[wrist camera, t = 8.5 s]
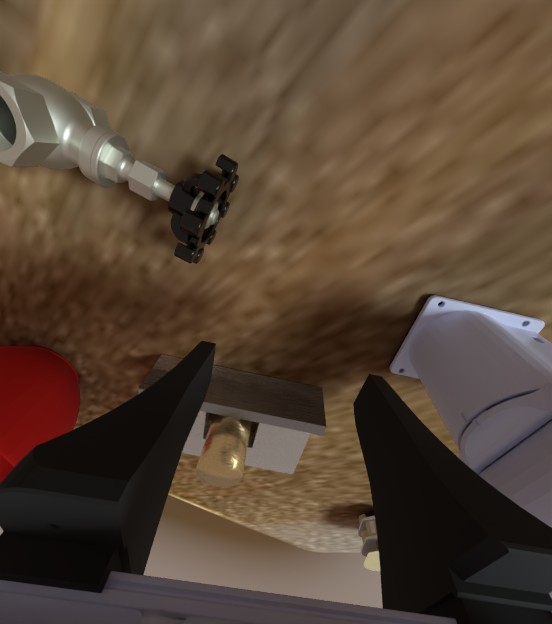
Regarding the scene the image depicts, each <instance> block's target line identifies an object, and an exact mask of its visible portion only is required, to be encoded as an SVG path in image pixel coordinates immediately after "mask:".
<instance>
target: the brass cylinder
mask: <svg viewBox="0 0 552 624" xmlns="http://www.w3.org/2000/svg"><path fill="white" fill-rule="evenodd" d="M251 423H252V421H248V420H243V419H238V418H233V417H228V416H223V415H218V414H214V415H213V418H212V421H211V425H210V428H209V431H208V434H207V437H206V440H205V443H204V446H203V449H202V453H201V456H200V459H199V462H198V465H197V468H196V474H197V476H198V478H199V479H200V480H202V481H203V482H205V483H207V484H209V485H212V486H215V487H232V486H235V485H237V484H239V483H240V482H241V480H242V476H243V470H244V464H245V458H246V452H247V446H248V441H249V435H250V429H251Z"/></svg>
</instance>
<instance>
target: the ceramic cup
mask: <svg viewBox="0 0 552 624" xmlns="http://www.w3.org/2000/svg"><path fill="white" fill-rule="evenodd" d="M79 406H80V391H79V378H78V375H77V372H76V371H75V369H74V368H73V366H72V365H71V364H70V363H69V362H68V361H67V360H66V359H64V358H63V357H62V356H60V355H59V354H57V353H55V352H53V351H51V350H48V349H46V348H42V347H38V346H0V483H1V481H2V480H3V479H4V478H5V477H6V476H7V475H8V474H9V472H10V471H11V470H12V469H13V468H14V467H15V466H16V465H17V464H18V462H19V461H20V460H21V459H22V458H23V457H24V456H26V455H27V454H28V453H29V452H30V451H31V450H32V449H33V448H34V447H35V446H37V445H39V444H42V443H44V442H46V441H49V440H51V439H53V438H56V437H58V436H61V435H63V434H65V433H68V432H70V431H72V430H73V429H74V426H75V423H76V421H77V417H78V412H79Z"/></svg>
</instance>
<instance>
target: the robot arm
mask: <svg viewBox="0 0 552 624" xmlns="http://www.w3.org/2000/svg"><path fill="white" fill-rule="evenodd" d="M441 301H443V302H442V304H440V305H438V303H439V302H441ZM525 321H526V322H525ZM523 322H525V323H523ZM544 325H545V323H544V322H543V321H542V320H540V319H537V318H533V317H528V316H524V315H520V314H515V313H511V312H507V311H502V310H498V309H494V308H489V307H485V306H481V305H476V304H472V303H468V302H463V301H459V300H455V299H450V298H446V297H442V296H437V295H433V296H430V297H429V298H428V299H427V301H426V303H425V305H424V306H423V308H422V310H421V312H420V313H419V315H418V317H417V319H416V321H415V322H414V324H413V326H412V328H411V329H410V331H409V333H408V335H407V337H406V338H405V340H404V342H403V344H402V345H401V347H400V349H399V351H398V353H397V354H396V356H395V358H394V360H393V361H392V363H391V365H390V367H389V368H390V371H391V372H392V373H394V374H398V375H403V376H408V377H412V378H417V379H420V380H421V382H422V384H423V386H424V388H425V389H426V391H427V393H428V395H429V397H430V398H431V400H432V402H433V404H434V405H435V407H436V409H437V411H438V413H439V414H440V416H441V418H442V420H443V422H444V423H445V425H446V427H447V429H448V430H449V432H450V434H451V436H452V438H453V439H454V441H455V443H456V445H457V447H458V448H459V450H460V454H459V456H458V457H457V456H456V455H455V454H454V453H452V452H451V451H450V450H449V449H448V448H447V447H446V446H445V445H444V444H443V443H442V442H441V441H440V440H439V439H438V438H437V437H436V436H435V435H434V434H433V433H432V432H431V431H430V430H429V429H428V428H427V427H426V426H425V425H424V424H423V423H422V422H421V421H420V420H419V419H418V417H417V416H416V415H415V414H414V413H413V412H412V411H411V410H410V408H409V407H408V406H407V405H406V404H405V403H404V402H403V400H402V399H401V398H400V397H399V396H398V395H397V393H396V392H395V391H394V390H393V389H392V388H391V386H390V385H389V384H388V383H387V382H386V381H385V380H384V379H383V378H382V377H381V376H376V375H371V374H369V375H368V377H367V379H366V381H365V383H364V385H363V386H362V388H361V390H360V392H359V394H358V396H357V398H356V400H355V402H354V404H353V405H354V415H355V423H356V428H357V433H358V437H359V441H360V445H361V449H362V453H363V457H364V461H365V465H366V469H367V473H368V477H369V482H370V487H371V494H372V500H373V507H374V514H375V522H376V530H377V539H378V549H379V560H380V572H381V584H382V585H381V586H382V600H383V601H382V602H383V609H382V608H374V607H367V606H360V605H353V604H346V603H339V602H331V601H324V600H316V599H310V598H302V597H295V596H288V595H281V594H274V593H266V592H260V591H252V590H245V589H238V588H230V587H224V586H216V585H209V584H202V583H195V582H187V581H181V580H173V579H166V578H158V577H151V576H145V575H143V574H144V570H145V567H146V564H147V560H148V557H149V554H150V550H151V547H152V544H153V541H154V537H155V534H156V531H157V527H158V524H159V521H160V518H161V515H162V512H163V508H164V505H165V502H166V499H167V496H168V493H169V490H170V486H171V483H172V480H173V477H174V474H175V471H176V468H177V465H178V462H179V459H180V456H181V453H182V451H183V448H184V445H185V443H186V441H187V438H188V436H189V434H190V431H191V429H192V427H193V425H194V422H195V420H196V418H197V415H198V413H199V411H200V408H201V406H202V404H203V402H204V399H205V397H206V394H207V390H208V387H209V384H210V381H211V377H212V370H213V362H214V354H215V346H216V344H215V343H210V342H205V341H201V342H200V343H199V344H198V345H197V346H196V347H195V348H194V349H193V350H192V351H191V352H190V353H189V354H188V355H187V356H186V357H185V358H184V359H183V360H182V361H180V362H179V363H178V364H177V365H176V366H175V367H174V368H173V369H171V370H170V371H169V372H168V373H167V374H165V375H164V376H163V377H161V378H160V379H159V380H158V381H156V382H155V383H154V384H152V385H151V386H150V387H148V388H147V389H145V390H144V391H142V392H141V393H139V394H138V395H136V396H135V397H133V398H132V399H130V400H128V401H127V402H125V403H124V404H122V405H120V406H119V407H117V408H115V409H113V410H112V411H110V412H108V413H106V414H104V415H102V416H100V417H98V418H96V419H94V420H93V421H91V422H89V423H87V424H85V425H83V426H81V427H79V428H76V429H74V430H72V431H70V432H68V433H65V434H63V435H61V436H58V437H56V438H53V439H51V440H49V441H46V442H44V443H42V444H39V445H37V446H35V447H34V448H33V449H32V450H31V451H30V452H29V453H28V454H27V455H26V456H24V457H23V458H22V459H21V460H20V461H19V462H18V464H17V465H16V466H15V467H14V468H13V469H12V470H11V471H10V472H9V474H8V475H7V476H6V477H5V478H4V479H3V480H2V481H1V483H0V526H1V528H2V529H3V531H4V532H3V533H2V534H1V536H0V624H552V343H550V342H549V341H548V340H546V339H545V338H543V337H542V336H541V335H539V334H538V333H539V332H540V331H541V330H542V328H543V327H544ZM400 369H402V370H400Z"/></svg>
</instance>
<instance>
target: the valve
mask: <svg viewBox="0 0 552 624" xmlns="http://www.w3.org/2000/svg"><path fill="white" fill-rule="evenodd" d="M0 162H1V163H3V164H6V165H8V166H10V167H33V166H39V165H40V166H43V167H47V168H51V169H72V168H75V167H80V170H81V172H82V173H83V175H84V176H85V177H87V178H88V179H90V180H92V181H94V182H96V183H98V184H100V185H102V186H104V187H111V186H113V185H115V184H116V183H123V182H126V181H128V182H129V189H130V190H131V191H133V192H135V193H137V194H139V195H141V196H143V197H144V198H146V199H148V200H150V201H154V200H157V199H158V198H159V197H161V198H163V199H164V200H166V201H168V210H169V212H171V213H172V214H173V216H172V219H171V228H172V231H173V233H174V235H175V236H176V237H177V238H178V239H179V240H180V241H181V242H183V243H185V244H187V246H185V245H183V244H181V243H178V245H177V247H176V249H175V253H174V255H175V256H176V257H178V258H180V259H182V260H184V261H186V262H188V263H192V262H194V263H196V264H197V263H198V262H199V261H200V259H201V257H202V255H203V253H204V246H205V244H208V245H210V244H211V243H212V241H213V240H214V238H215V235H216V230H215V228H216V226H217V224H218V222H219V220H220V218H221V217H222V218H223V217H224V216H225V215H226V213H227V211H228V208H229V205H230V204H229V202H227V200H228V197H229V195H230V192H231V193H232V192H233V191H234V189H235V187H236V185H237V182H238V179H239V176H238V175H237V174H236V172H237V169H238V163H237V162H235V161H233V160H232V159H230V158H228V157H227V156H225V155H223V154H221V155H220V156H219V158H218V160H217V162H216V166H218V167H219V168H221V169H223V170H222V174H221V176H217V175H215V174H214V173H212V172H210V171H208V170H205V171H204V173H203V174H199V173H194V174H191V175H189V176H188V177H187V178H186V180H185V181H184V180H181V181H179V182H178V183H177V184H176V186H175V185H173V184H171V183H169V182H167V181H166V172H165V171H163V170H161V169H159V168H158V167H156V166H154V165H152V164H151V163H149V162H147V161H145V160H136V161H135V162H134V158H133V154H132V153H131V152H129V147H128V143H127V141H126V139H125V137H124V136H122V135H121V134H119V133H117V132H116V131H114V130H112V128H111V125H110V121H109V117H108V114H107V111H105V110H103V109H102V108H100V107H98V106H97V105H95V104H93V103H91V102H90V101H88V100H86V99H84V98H83V97H81V96H79V95H78V94H76V93H73V92H69V91H67V90H66V89H64V88H63V87H61V86H60V85H58V84H57V83H55V82H53V81H51V80H48V79H46V78H43V77H40V76H37V75H32V74H12V75H6V74H5V73H3V72H1V71H0ZM195 186H197V187H198V188H196V187H195ZM181 229H182V230H183V231H185V232H187V233H189V234H187V233H185V232H183V231H182V230H181Z"/></svg>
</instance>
